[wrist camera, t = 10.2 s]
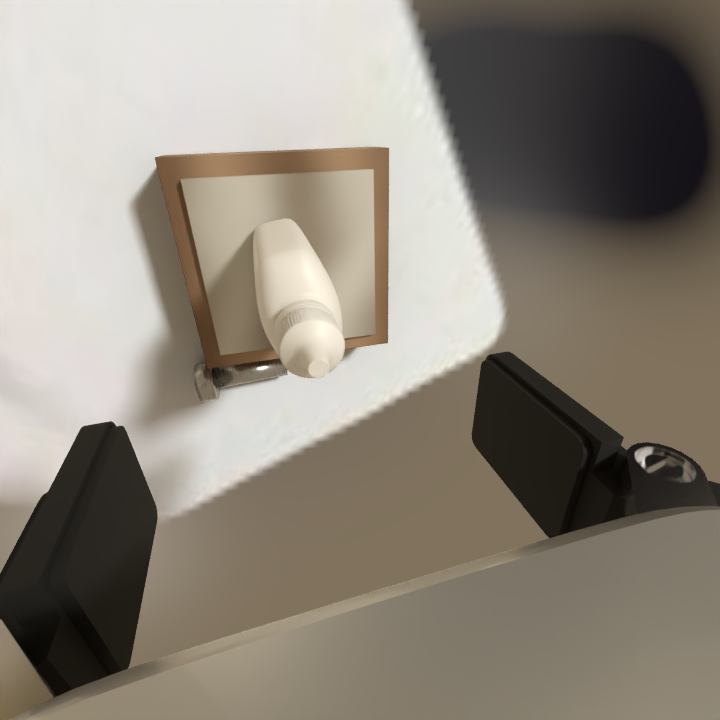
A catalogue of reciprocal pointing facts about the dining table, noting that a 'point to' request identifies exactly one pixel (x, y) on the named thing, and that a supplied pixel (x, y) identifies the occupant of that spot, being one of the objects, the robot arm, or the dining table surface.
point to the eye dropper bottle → (296, 300)
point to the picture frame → (269, 203)
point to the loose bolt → (233, 376)
